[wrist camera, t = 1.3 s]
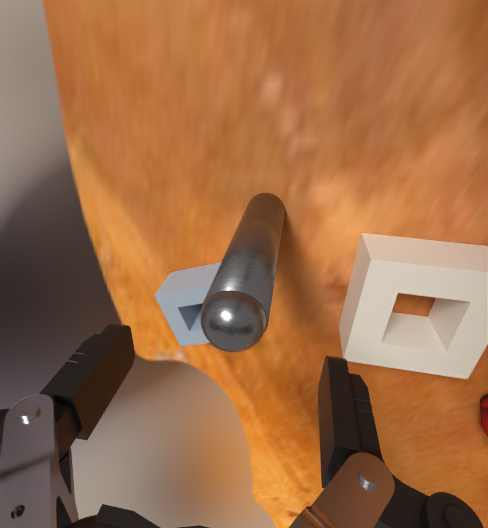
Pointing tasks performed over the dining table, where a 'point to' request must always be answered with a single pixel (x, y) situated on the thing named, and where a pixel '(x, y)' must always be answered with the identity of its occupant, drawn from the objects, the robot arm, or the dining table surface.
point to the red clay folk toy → (484, 413)
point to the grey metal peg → (245, 278)
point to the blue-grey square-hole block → (186, 301)
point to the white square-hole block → (413, 326)
